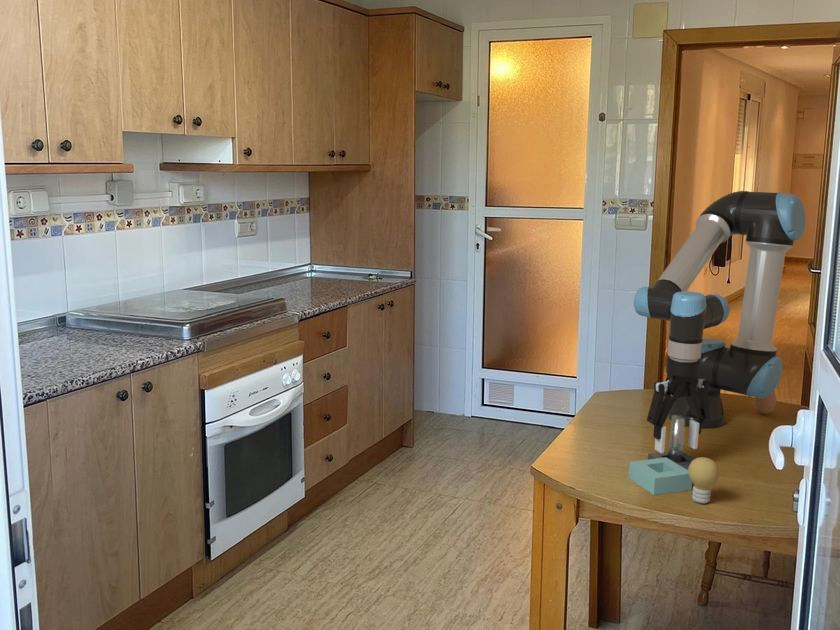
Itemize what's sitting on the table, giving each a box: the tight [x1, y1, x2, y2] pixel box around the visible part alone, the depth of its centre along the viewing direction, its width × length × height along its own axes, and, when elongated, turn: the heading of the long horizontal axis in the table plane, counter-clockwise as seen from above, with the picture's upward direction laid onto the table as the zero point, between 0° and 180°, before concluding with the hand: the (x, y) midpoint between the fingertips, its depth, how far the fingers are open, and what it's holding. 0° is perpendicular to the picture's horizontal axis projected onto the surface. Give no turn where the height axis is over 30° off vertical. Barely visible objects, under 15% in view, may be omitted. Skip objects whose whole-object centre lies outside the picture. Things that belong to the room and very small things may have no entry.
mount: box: [647, 450, 695, 470], centre depth 201 cm, size 9×9×2 cm
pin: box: [668, 415, 686, 463], centre depth 200 cm, size 3×3×13 cm
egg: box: [754, 390, 777, 415], centre depth 243 cm, size 6×6×8 cm
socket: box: [628, 457, 693, 496], centre depth 192 cm, size 10×10×4 cm
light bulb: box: [688, 456, 720, 504], centre depth 182 cm, size 6×6×10 cm
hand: (675, 449), depth 201 cm, fingers open, 9 cm apart
